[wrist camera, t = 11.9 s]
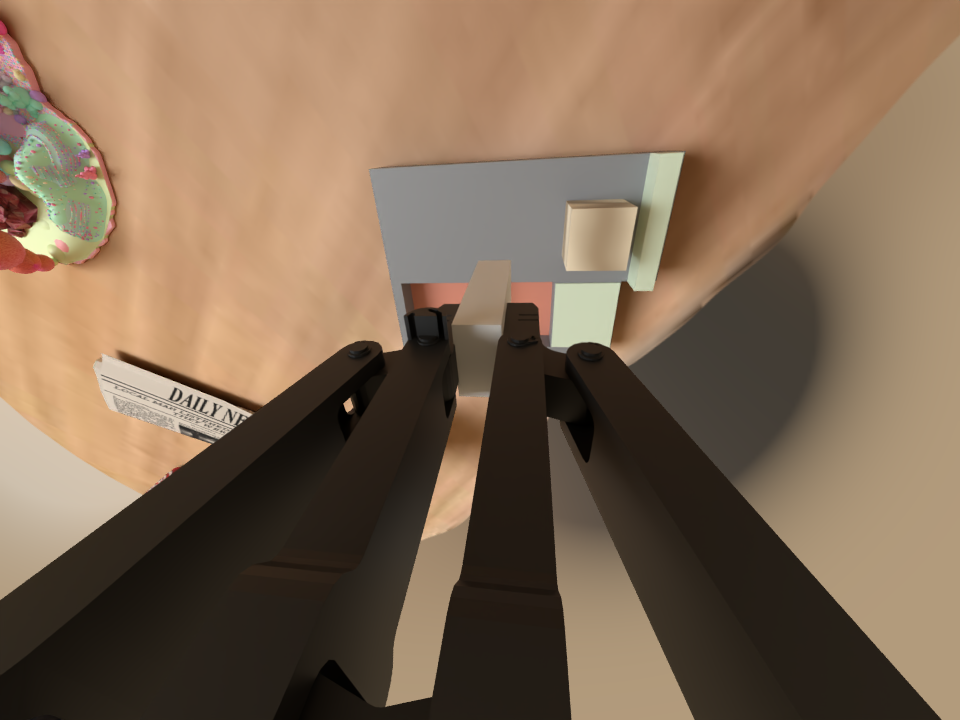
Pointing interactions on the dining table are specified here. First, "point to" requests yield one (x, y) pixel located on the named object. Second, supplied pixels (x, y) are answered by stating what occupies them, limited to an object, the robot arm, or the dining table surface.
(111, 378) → the newspaper
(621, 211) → the block
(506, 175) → the grey compartment tray
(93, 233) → the pastel sphere sculpture
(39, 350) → the dining table surface
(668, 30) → the dining table surface
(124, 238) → the dining table surface
